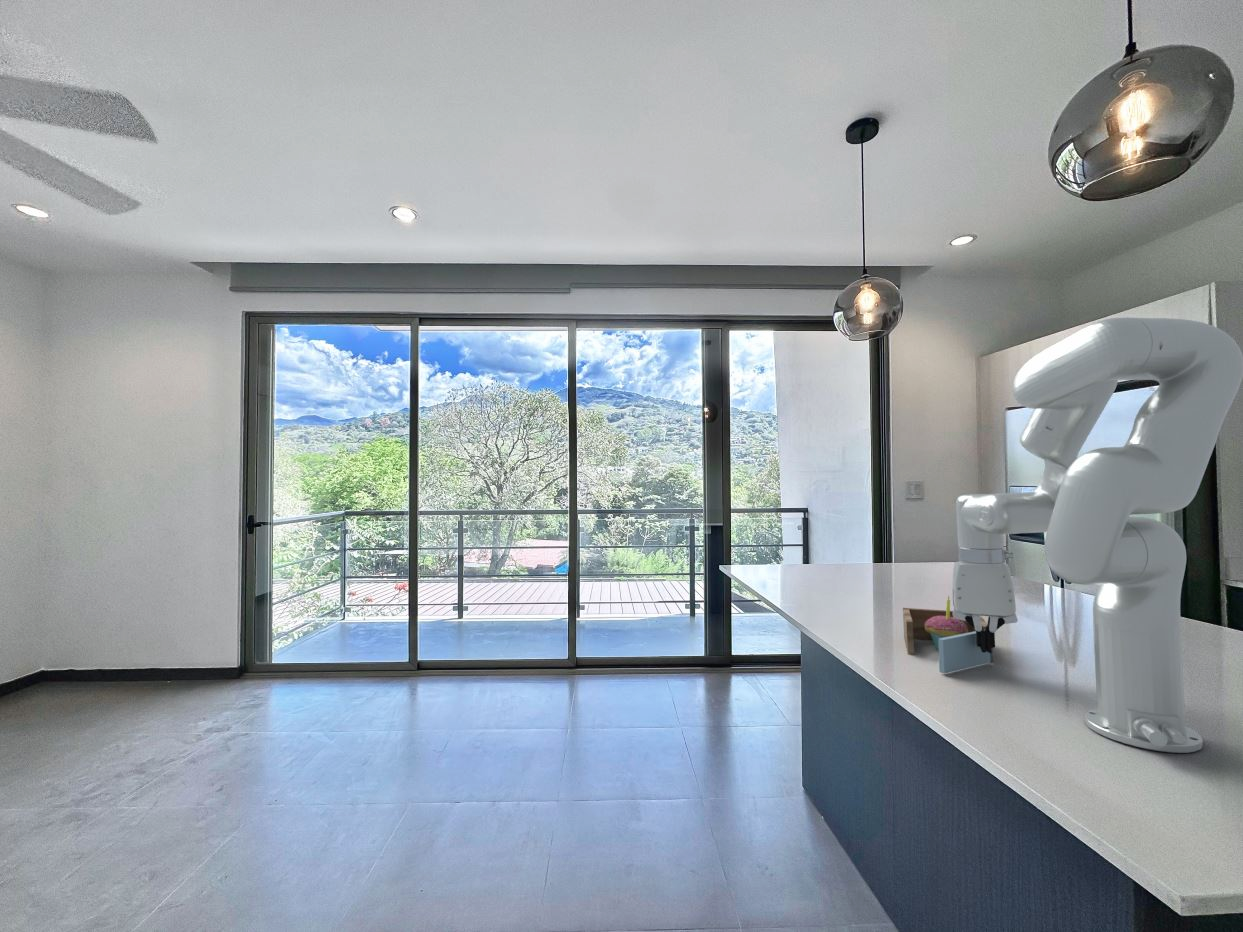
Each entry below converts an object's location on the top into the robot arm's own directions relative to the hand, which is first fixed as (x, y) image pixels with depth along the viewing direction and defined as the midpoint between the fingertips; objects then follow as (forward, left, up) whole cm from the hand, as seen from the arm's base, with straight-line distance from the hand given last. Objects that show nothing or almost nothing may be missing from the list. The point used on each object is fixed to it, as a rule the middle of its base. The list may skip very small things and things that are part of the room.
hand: (986, 650), depth 109 cm
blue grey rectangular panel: (+1, +3, -4) cm, 5 cm away
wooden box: (+14, +6, -4) cm, 16 cm away
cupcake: (+14, +5, -4) cm, 16 cm away
